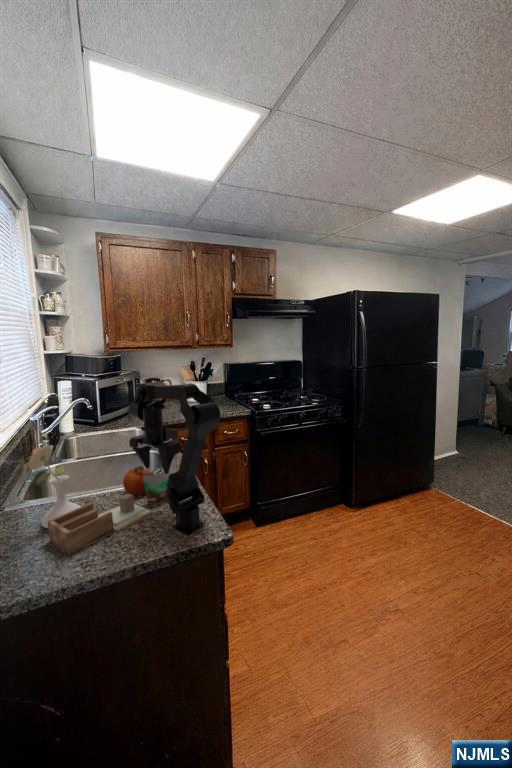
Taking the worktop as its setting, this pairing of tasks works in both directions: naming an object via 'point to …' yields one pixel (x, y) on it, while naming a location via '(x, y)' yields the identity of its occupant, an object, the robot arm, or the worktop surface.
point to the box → (79, 528)
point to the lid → (125, 509)
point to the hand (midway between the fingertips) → (157, 470)
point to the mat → (130, 521)
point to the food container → (156, 485)
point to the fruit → (135, 481)
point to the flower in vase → (58, 482)
